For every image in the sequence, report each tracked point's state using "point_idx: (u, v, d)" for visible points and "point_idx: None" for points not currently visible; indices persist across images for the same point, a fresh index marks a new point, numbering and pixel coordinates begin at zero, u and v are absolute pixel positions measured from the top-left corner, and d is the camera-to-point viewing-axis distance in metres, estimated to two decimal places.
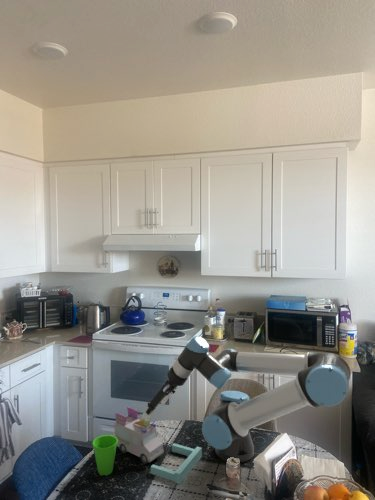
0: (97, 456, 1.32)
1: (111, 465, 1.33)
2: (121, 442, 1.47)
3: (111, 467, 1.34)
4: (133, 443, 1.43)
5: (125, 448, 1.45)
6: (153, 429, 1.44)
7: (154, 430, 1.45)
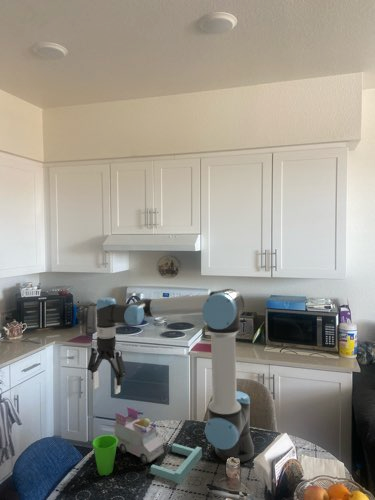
0: (97, 456, 1.32)
1: (111, 465, 1.33)
2: (121, 442, 1.47)
3: (111, 467, 1.34)
4: (133, 443, 1.43)
5: (125, 448, 1.45)
6: (153, 429, 1.44)
7: (154, 430, 1.45)
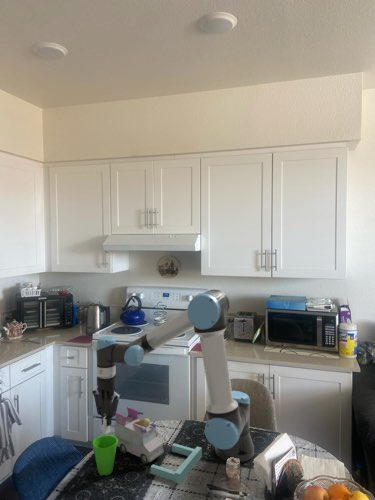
0: (97, 456, 1.32)
1: (111, 465, 1.33)
2: (121, 442, 1.47)
3: (111, 467, 1.34)
4: (133, 443, 1.43)
5: (125, 448, 1.45)
6: (153, 429, 1.44)
7: (154, 430, 1.45)
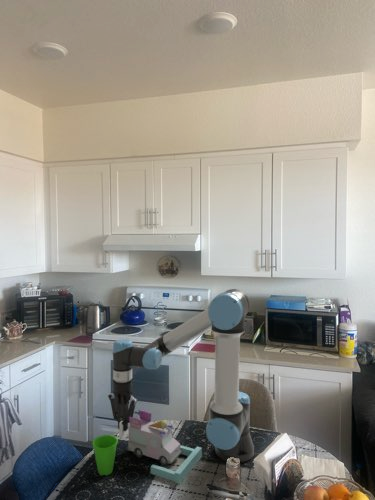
0: (97, 456, 1.32)
1: (111, 465, 1.33)
2: (136, 446, 1.44)
3: (111, 467, 1.34)
4: (150, 446, 1.41)
5: (141, 452, 1.43)
6: (170, 430, 1.43)
7: (171, 431, 1.44)
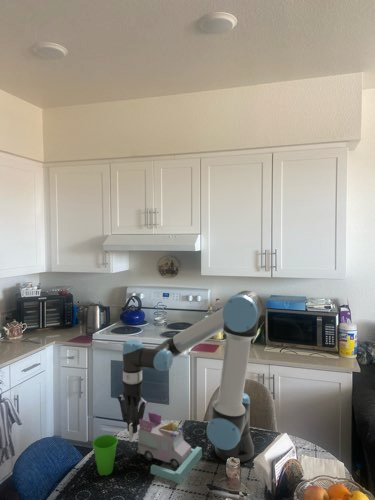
0: (97, 456, 1.32)
1: (111, 465, 1.33)
2: (146, 449, 1.42)
3: (111, 467, 1.34)
4: (161, 449, 1.39)
5: (151, 455, 1.41)
6: (180, 433, 1.42)
7: (181, 434, 1.42)
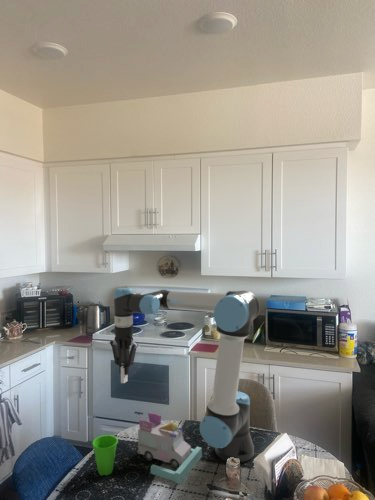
0: (97, 456, 1.32)
1: (111, 465, 1.33)
2: (146, 449, 1.42)
3: (111, 467, 1.34)
4: (161, 449, 1.39)
5: (151, 455, 1.41)
6: (180, 433, 1.42)
7: (181, 434, 1.42)
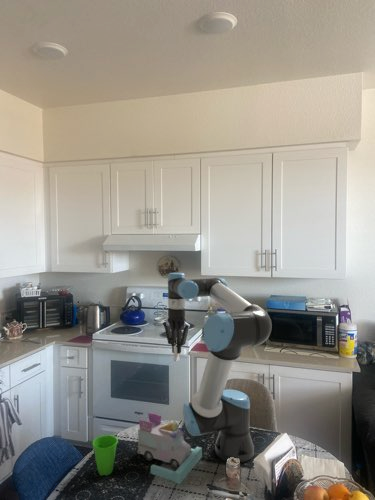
0: (97, 456, 1.32)
1: (111, 465, 1.33)
2: (146, 449, 1.42)
3: (111, 467, 1.34)
4: (161, 449, 1.39)
5: (151, 455, 1.41)
6: (180, 433, 1.42)
7: (181, 434, 1.42)
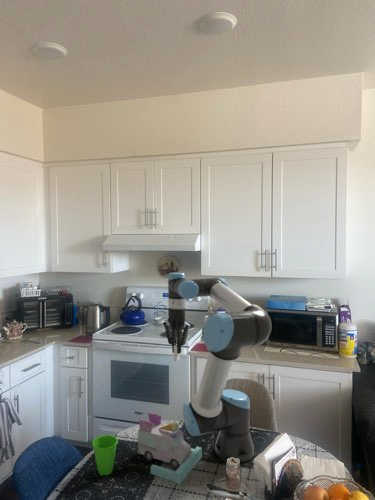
0: (97, 456, 1.32)
1: (111, 465, 1.33)
2: (146, 449, 1.42)
3: (111, 467, 1.34)
4: (161, 449, 1.39)
5: (151, 455, 1.41)
6: (180, 433, 1.42)
7: (181, 434, 1.42)
